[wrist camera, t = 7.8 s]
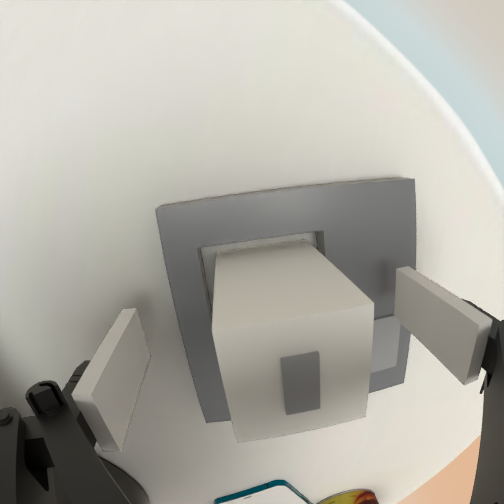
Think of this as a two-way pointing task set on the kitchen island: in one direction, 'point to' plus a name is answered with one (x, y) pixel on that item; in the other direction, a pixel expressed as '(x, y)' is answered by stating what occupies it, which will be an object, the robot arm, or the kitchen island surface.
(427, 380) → the kitchen island surface
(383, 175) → the kitchen island surface
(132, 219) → the kitchen island surface
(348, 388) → the block
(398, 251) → the grey square base plate
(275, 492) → the smartphone
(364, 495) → the canned food
